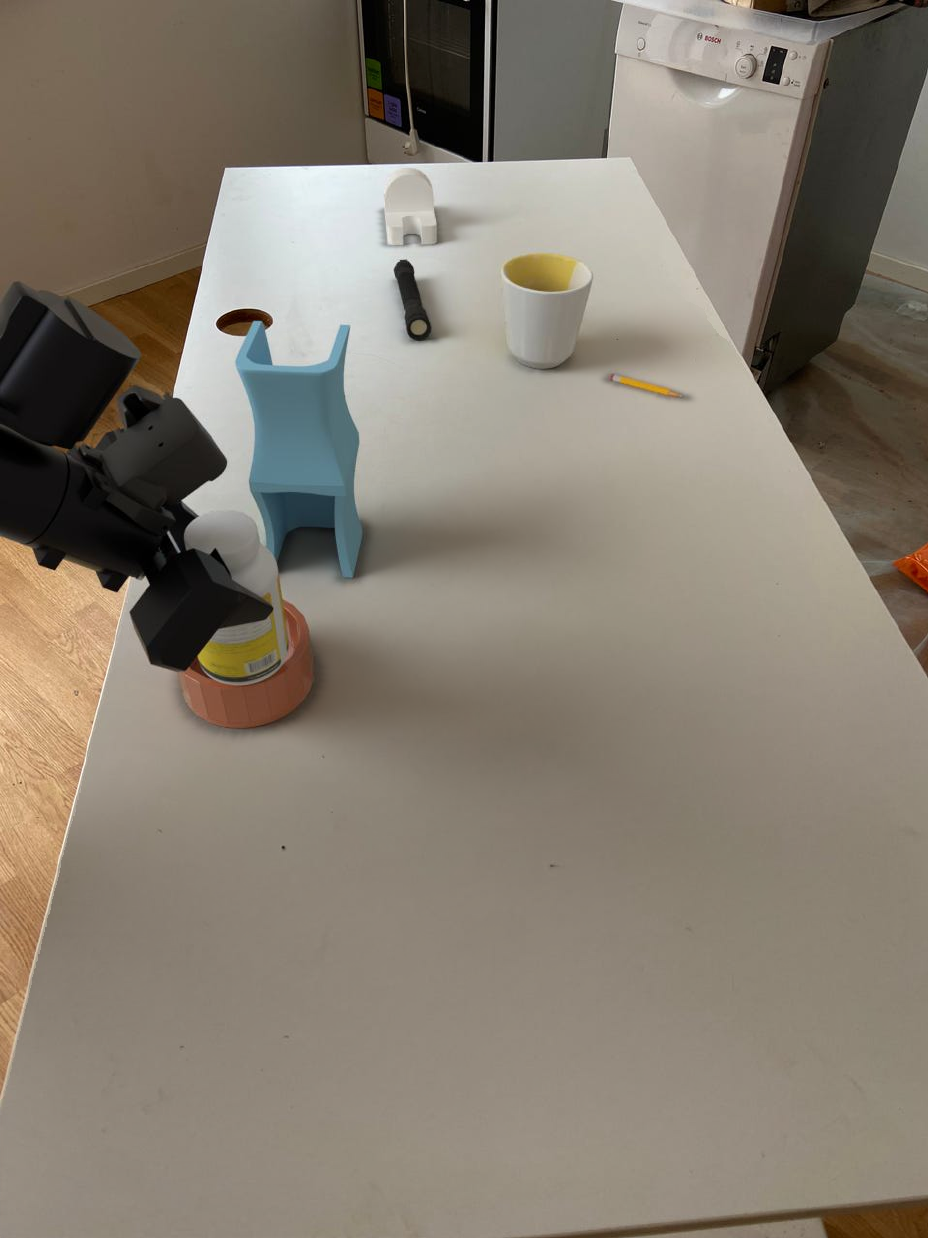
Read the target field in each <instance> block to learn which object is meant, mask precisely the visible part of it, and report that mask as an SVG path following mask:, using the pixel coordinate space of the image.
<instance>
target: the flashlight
mask: <svg viewBox="0 0 928 1238" xmlns="http://www.w3.org/2000/svg"><path fill="white" fill-rule="evenodd" d="M393 273H394V278H395V279H396V281H397V286H398V290H399V293H400V298H401V301H402V305H403V310H404V322H405V323H404V324H405V329H406V333H407V336H408V337H409V338H410V339H411V340H414V341H419V342H420V341H424V340H426V339H427V338H428V337H429V336H430V334H431V333H432V328H433V327H432V324H431V321H430V318H429V316H428V312H427V310H426V309H425V308H424V307H423V302H422V298H421V294H420V291H419V287H418V283H417V281H416V277H415V268H414V266H413V264H412V263H411V262H410V261H409V260H408V259H407V258H406V259H399V261H397V262H396V264H395V266H394V267H393Z"/></svg>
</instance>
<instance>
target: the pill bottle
mask: <svg viewBox="0 0 928 1238" xmlns="http://www.w3.org/2000/svg"><path fill="white" fill-rule="evenodd" d="M258 529H259V528H258V525H257V522H255V520H254V519H253V518H252V517H251V516H249V515H248V514H246V513H244V512H241V511H238V510H232V509H220V510H214V511H209V512H206V513H203V514H201V515H199V517H197V518H196V519H194V520H193V521H192V522H191V523H190V524H189V525H188V526H187V528H186V530H185V532H184V542H185V546H186V550H189V549H193V548H195V549H197V550H200V551H202V552H205V553H207V554H209V555H210V554H211V552H212V551H213V550H214V548H216V549H217V550H218V552H219V554H220V555H221V557H222V559H223V560H224V562H225V564H226V565H227V567H228V569H229V570H230V572H231V576H232V580H233V581H235V582H237V583H238V584H240V585H242V586H243V587H245V588H247V589H248V590H250V591H252V592H253V593H255V594H257V595H258V596H260V597H261V598H263V599H264V600H266V601H267V602H269V603H270V604H271V605H272V606H273V608H274V610H273V611H272V613H271V614H270V615H269V617H268V618H267V619H266V620H263V621H258V622H253V623H248V624H242V625H237V626H232V627H227V628H222V629H218V630H217V631H216V633H215V634H214V635H213V637H212V638H211V639H210V640H209V642H208V643H207V644H206V646H205V647H204V648H203V649H202V651H201V652H200V653H199V655H198V660H199V663H200V665H201V667H202V669H203V670H204V672H205V673H206V674H207V675H208V676H209V677H211V678H212V679H214V680H216V681H218V682H221V683H224V684H229V685H248V684H253V683H256V682H259V681H262V680H264V679H266V678H268V677H269V676H271V675H273V674H274V673H275V672H276V671H277V670H278V669H279V668H280V667H281V666H282V665H283V663H284V662H285V660H286V657H287V655H288V649H289V643H288V635H287V628H286V621H285V614H284V606H283V600H284V599H283V593H282V586H281V579H280V574H279V567H278V562H277V563H276V560H275V558H274V556H273V554H272V553H271V552H270V551H269V550H268V549H267V548H266V545H264V544H262V543H261V540H260V539H261V538H260V535H259V530H258Z"/></svg>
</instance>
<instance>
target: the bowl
mask: <svg viewBox="0 0 928 1238" xmlns="http://www.w3.org/2000/svg"><path fill="white" fill-rule="evenodd" d="M283 606H284V614H285V621H286V628H287V635H288V643H289V649H288V655H287V657H286V660H285V662H284V663H283V665H282V666H281V667H280V668H279V669H278V670H277V671H276V672H275V673H274V674H273V675H271V676H269V677H268V678H266V679H264V680H262V681H259V682H256V683H253V684H248V685H229V684H224V683H221V682H218V681H216V680H214V679H212V678H211V677H209V676H208V675H207V674H206V673H205V672H204V670H203V669H202V667H201V665H200V663H199V660H198V656H197V657H196V659H195V660H194V661H193V662H192V664H191V665H190V666H189V668H188V669H187V670H186V671H183V672H176V674H177V678H178V681H179V686H180V689H181V692H182V695H183V698H184V701H185V703H186V704H187V706H188V707H189V709H190V710H191V711H192V712H193V713H194V714H195V715H196V716H197V717H198V718H201V719H202V720H204V721H205V722H207V723H209V724H213V725H216V726H217V727H218V726H219V727H224V728H232V729H246V728H256V727H259V726H260V727H261V726H263V725H267V724H270V723H272V722H275V721H278V720H280V719H281V718H284V717H285V716H287V715H288V714H290V713H292V711H294V710H295V709H297V708H298V706H299V705H301V704H302V702H304V700H305V699H306V697H307V696H308V694H309V693H310V690H311V689H312V686H313V683H314V677H315V669H314V666H315V663H314V656H313V649H312V641H311V635H310V634H311V633H310V628H309V626H308V622H307V620H306V617H305V616H304V615H303V613H302V612H301V611H300V610H299V609H298V608H297V607H296V606H295V605H294V604H292V603H290V602H289V601H287V600H284V599H283Z"/></svg>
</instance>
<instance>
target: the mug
mask: <svg viewBox="0 0 928 1238" xmlns="http://www.w3.org/2000/svg"><path fill="white" fill-rule="evenodd" d="M500 281H501V282H500V283H501V294H502V303H503V311H504V321H505V330H506V341H507V342H506V344H507V347H508V350H509V351H510V354H512V355H513V357H514V358H515V359H516V360H517V361H518V362H519V363H520V364H522V365H523V366H526V367H529V368H532V369H537V370H538V369H539V370H548V369H552V368H556V367H558V366H560V365H562V364H563V363H564V362H565V361H567V359H568V358H569V357H571V356H572V354H573V353H574V351H575V348H576V345H577V341H578V337H579V333H580V330H581V326H582V321H583V319H584V315H585V311H586V307H587V305H588V304H587V303H588V301H589V296H590V292H591V289H592V285H593V281H594V273H593V271H592V269H591V268H590V266H589V265H588V264H586V263H585V262H583V261H581V260H579V259H577V258H574V257H571V256H568V255H564V254H560V253H552V252H551V253H550V252H534V253H526V254H522V255H518V256H515V257H513V258H511V259H508V260H507V261H506V262H504V263H503V265H502V266H501V268H500Z"/></svg>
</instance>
